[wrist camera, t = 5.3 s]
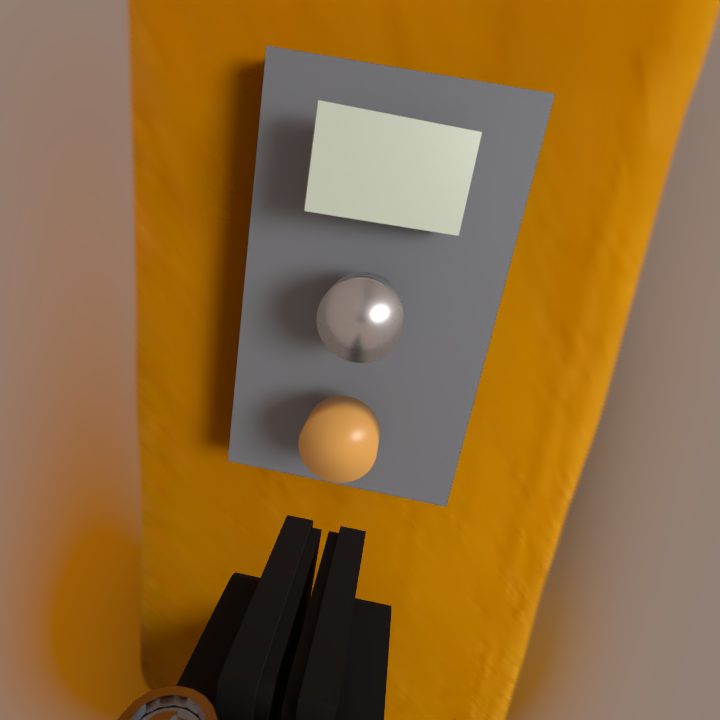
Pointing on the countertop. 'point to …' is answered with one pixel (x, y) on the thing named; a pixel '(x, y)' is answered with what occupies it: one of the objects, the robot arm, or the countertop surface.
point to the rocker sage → (389, 169)
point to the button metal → (361, 317)
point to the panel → (381, 256)
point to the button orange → (340, 439)
